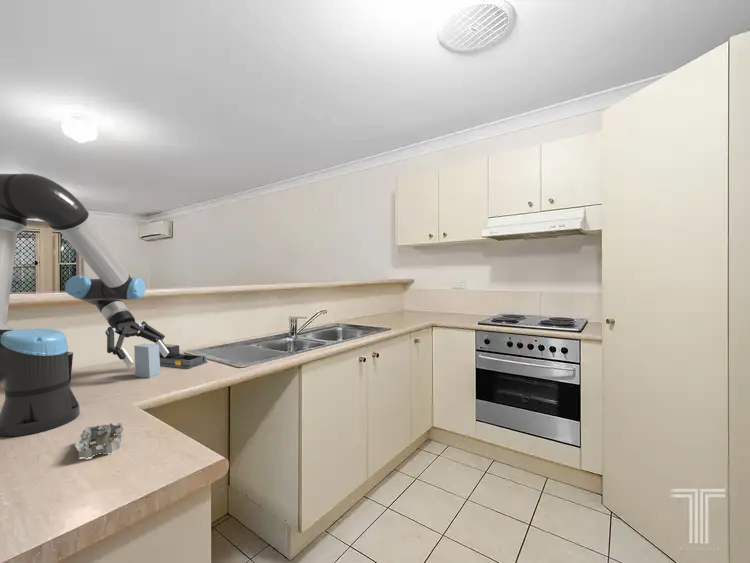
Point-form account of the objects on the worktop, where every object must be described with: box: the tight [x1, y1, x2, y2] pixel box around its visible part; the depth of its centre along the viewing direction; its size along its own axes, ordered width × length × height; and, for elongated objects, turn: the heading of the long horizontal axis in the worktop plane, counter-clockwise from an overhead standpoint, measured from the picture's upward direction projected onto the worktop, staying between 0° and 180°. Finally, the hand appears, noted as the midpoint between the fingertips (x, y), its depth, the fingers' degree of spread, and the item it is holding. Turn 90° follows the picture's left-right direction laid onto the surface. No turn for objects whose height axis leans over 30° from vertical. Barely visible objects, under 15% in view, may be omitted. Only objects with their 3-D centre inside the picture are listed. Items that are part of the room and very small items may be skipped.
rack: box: [159, 343, 208, 370], centre depth 140 cm, size 9×21×7 cm, turn 70°
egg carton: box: [74, 422, 124, 459], centre depth 75 cm, size 11×8×4 cm
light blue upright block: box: [133, 342, 161, 379], centre depth 125 cm, size 4×7×11 cm, turn 70°
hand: (149, 359), depth 125 cm, fingers open, 13 cm apart
